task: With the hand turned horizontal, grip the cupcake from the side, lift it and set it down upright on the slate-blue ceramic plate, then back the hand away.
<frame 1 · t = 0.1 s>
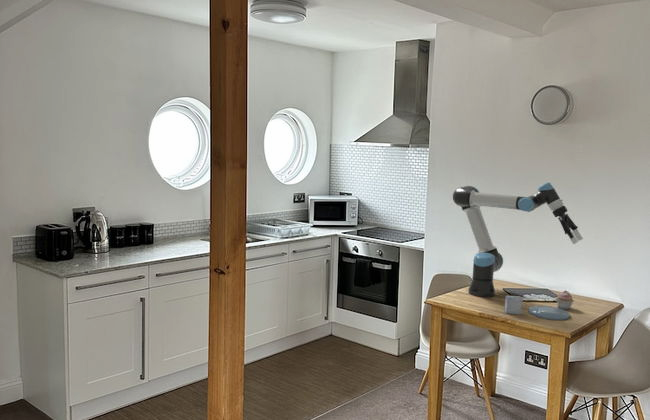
hand: (578, 241, 333), 36 cm above the table, tool tilted 35°, fingers open, 13 cm apart
cupcake: (563, 308, 330), on the table
medicine box: (512, 313, 317), on the table
dish: (548, 314, 317), on the table
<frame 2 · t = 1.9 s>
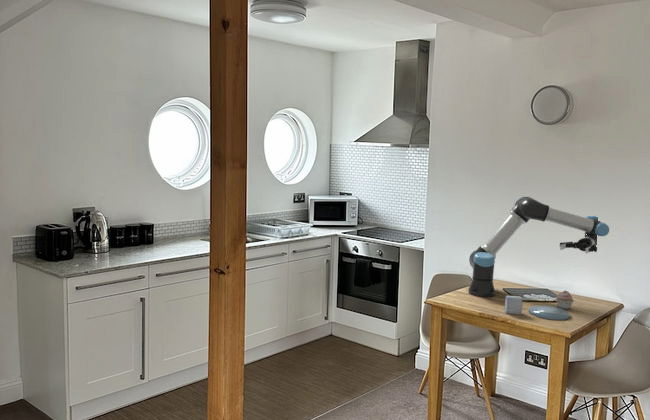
hand: (573, 249, 333), 32 cm above the table, tool horizontal, fingers open, 13 cm apart
nothing on the table moved.
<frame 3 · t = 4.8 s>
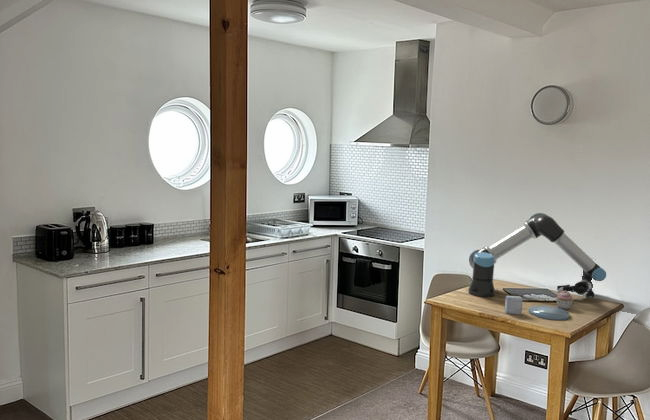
hand: (570, 293, 337), 6 cm above the table, tool horizontal, fingers open, 13 cm apart
nothing on the table moved.
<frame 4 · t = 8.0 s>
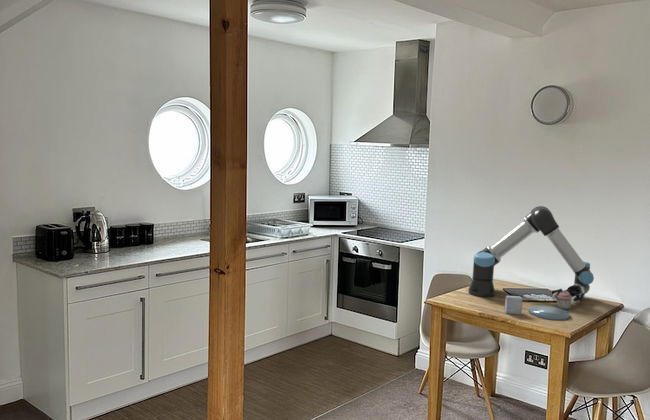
hand: (562, 298, 326), 6 cm above the table, tool horizontal, fingers closed on cupcake, 9 cm apart
cupcake: (563, 308, 330), on the table, touching gripper
everything else where it was.
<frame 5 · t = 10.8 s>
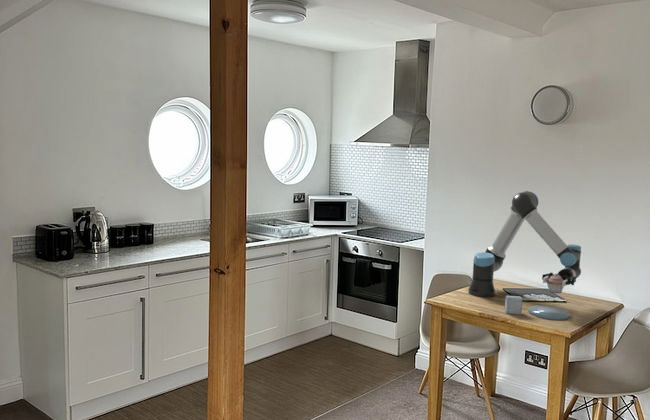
hand: (553, 282, 313), 18 cm above the table, tool horizontal, fingers closed on cupcake, 9 cm apart
cupcake: (554, 292, 317), point 11 cm above the table, touching gripper
everything else where it was.
when the fingers open (9 cm above the table, at t = 13.6 s): cupcake drops 1 cm, resting on dish.
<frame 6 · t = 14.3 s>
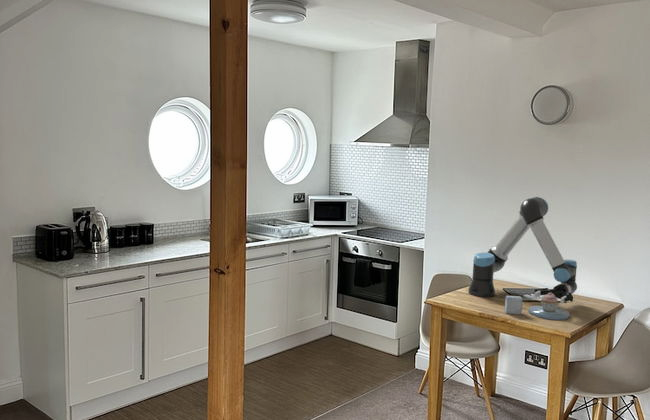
hand: (548, 298, 313), 9 cm above the table, tool horizontal, fingers open, 13 cm apart
cupcake: (548, 311, 317), point 2 cm above the table, touching dish
everything else where it was.
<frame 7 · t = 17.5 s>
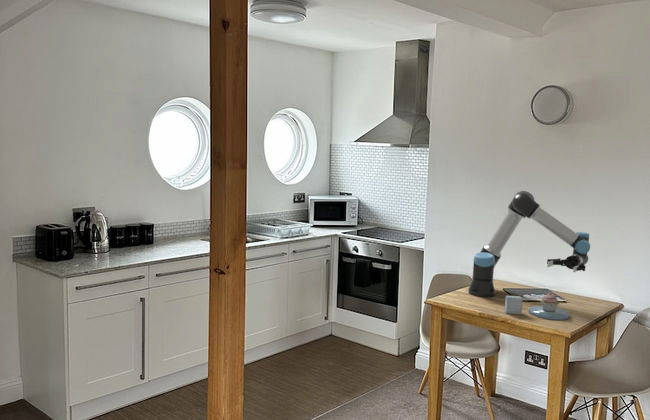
hand: (561, 267, 321), 24 cm above the table, tool horizontal, fingers open, 13 cm apart
nothing on the table moved.
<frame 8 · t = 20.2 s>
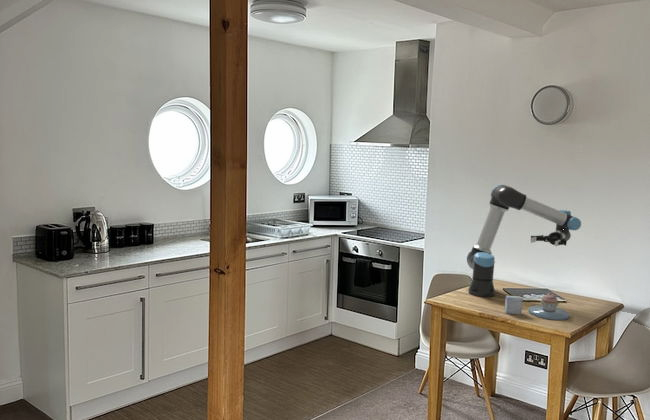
hand: (543, 242, 338), 34 cm above the table, tool horizontal, fingers open, 13 cm apart
nothing on the table moved.
at the end: cupcake inside the target area on the dish (0.1 cm from its centre), point 1.6 cm above the dish's base; cupcake tilted 1°; the gripper is holding nothing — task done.
